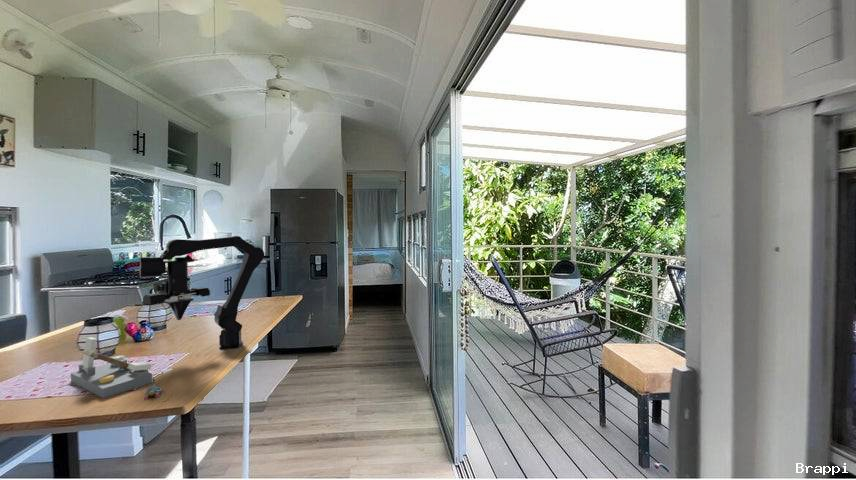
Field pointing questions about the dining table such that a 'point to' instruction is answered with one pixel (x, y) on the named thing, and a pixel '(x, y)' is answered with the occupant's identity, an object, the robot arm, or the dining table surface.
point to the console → (109, 379)
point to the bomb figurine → (153, 391)
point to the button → (117, 359)
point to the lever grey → (90, 346)
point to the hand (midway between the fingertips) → (179, 319)
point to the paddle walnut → (106, 358)
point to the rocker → (139, 366)
